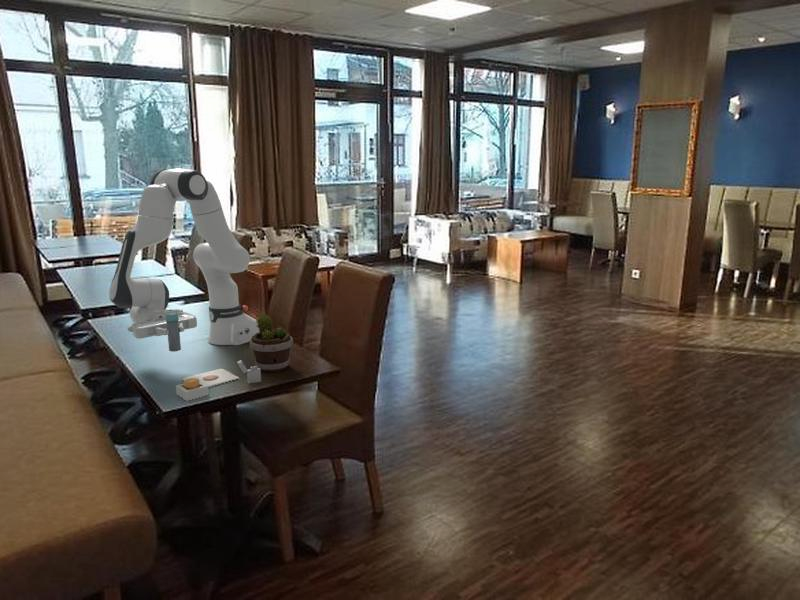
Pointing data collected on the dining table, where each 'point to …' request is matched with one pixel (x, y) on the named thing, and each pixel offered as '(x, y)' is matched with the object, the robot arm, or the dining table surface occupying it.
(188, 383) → the button
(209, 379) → the paper pad
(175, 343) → the grey teal bottle
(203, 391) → the button box
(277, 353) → the flowerpot
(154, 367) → the dining table surface
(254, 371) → the lighter
